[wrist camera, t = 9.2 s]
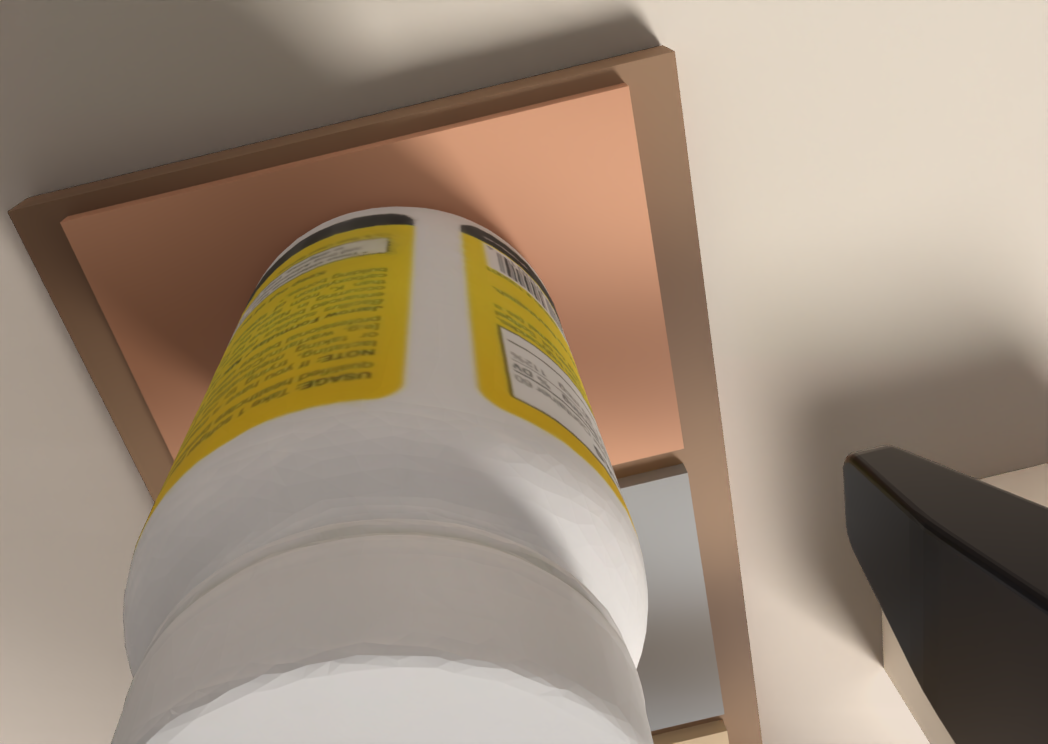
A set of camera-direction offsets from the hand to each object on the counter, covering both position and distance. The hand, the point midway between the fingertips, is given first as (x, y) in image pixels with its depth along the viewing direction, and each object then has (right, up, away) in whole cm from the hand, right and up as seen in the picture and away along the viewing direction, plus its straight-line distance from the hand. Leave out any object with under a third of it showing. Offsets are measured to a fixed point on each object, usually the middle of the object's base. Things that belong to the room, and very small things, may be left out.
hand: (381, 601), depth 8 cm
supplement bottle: (-1, +2, +5) cm, 6 cm away
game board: (+1, -3, +9) cm, 9 cm away
